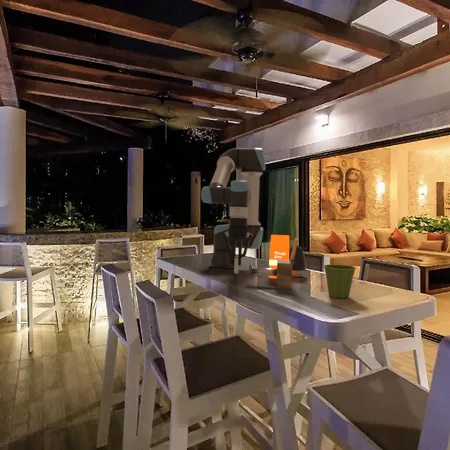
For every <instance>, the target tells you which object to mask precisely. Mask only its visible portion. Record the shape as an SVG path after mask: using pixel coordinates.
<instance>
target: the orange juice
mask: <svg viewBox="0 0 450 450" xmlns="http://www.w3.org/2000/svg"><path fill="white" fill-rule="evenodd" d="M269 246H270V247H269V261H268V262H269V264H268V267H269V268H270V269H277V260H289V250H290V235H287V234H286V235H285V234H284V235H283V234H271V235H270V245H269ZM268 278H269V279H276V278H277V276H268Z"/></svg>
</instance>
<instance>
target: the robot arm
mask: <svg viewBox="0 0 450 450" xmlns="http://www.w3.org/2000/svg"><path fill="white" fill-rule="evenodd" d="M239 170H240V173H241V175H242V176H243V180H237V179H235V180H231V182H230V186H227V185H228V182H229V180H230V176H231V173H232V172H233V171H239ZM263 171H266V158H265V151H264V149H263V148H261V147H234V148H230V149H228V150H227V151H225V152H223V153H222V154H221V155H220V156H219V158H218V160H217V162H216V169H215V172H214V174H213V176H212V179H211V182H210V184H209V186H208V185H207V186H203V187H202V188H201V192H200V194H201V197H200V198H201V200H202V202H203V203H205V204H227V205H228V204H229V219H228V221H229V222H228V224H218V225H216V226H215V227H214V230H213V232H214V233H213V251H212V252H213V253H212V256H211V258H210V261H209V267H212V268H216V269H234V270H233V274H239V266H241V265H242V258H244V257H246V255H247V253H248V252H247V251H248V250H249V249H250V250H253V249H254V250H257V249H260V247H261V244H262V240H263V235H264V228H263V226H262V227H261V225H262V224H261V223H260V221H259V206H260V205H259V204H260V203H259V202H260V201H259V200H260V177H261V176H262V175H263V174H264V173H263ZM237 250H238V251H237ZM242 250H243V251H242ZM236 251H237V252H238V255H237V256H236V253H237V252H236ZM242 252H243V253H242Z"/></svg>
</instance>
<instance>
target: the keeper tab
mask: <svg viewBox="0 0 450 450" xmlns="http://www.w3.org/2000/svg"><path fill="white" fill-rule="evenodd" d="M298 241H299V239H298V238H296V237H295V238H294V242H293V245H292V246H293V250H292V255H291V258H290V259H294V256H295V252H296V247H297V245H298Z"/></svg>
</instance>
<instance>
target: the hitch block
mask: <svg viewBox="0 0 450 450" xmlns="http://www.w3.org/2000/svg"><path fill="white" fill-rule="evenodd" d="M290 258H291V256H290ZM294 261H295V259H290V260H277V278H275V279H276V282H275V288H276V289H285V290H286V289H288V290H292V279H293V277H292V264H294Z"/></svg>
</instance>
